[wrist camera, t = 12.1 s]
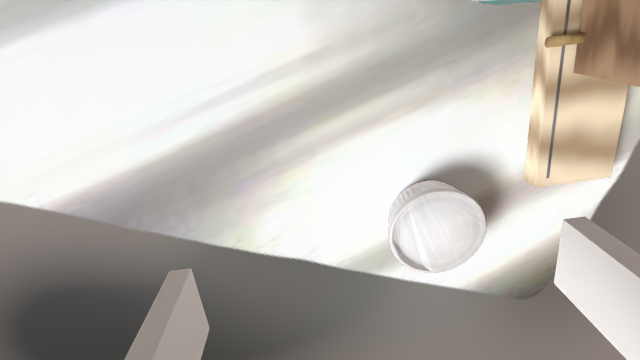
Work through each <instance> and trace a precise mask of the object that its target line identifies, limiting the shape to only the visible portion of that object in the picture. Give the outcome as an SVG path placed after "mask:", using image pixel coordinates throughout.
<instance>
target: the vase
mask: <svg viewBox="0 0 640 360" xmlns="http://www.w3.org/2000/svg"><path fill="white" fill-rule="evenodd" d="M471 1H474V2H478V3H485V4H494V5H508V4H524V3H532V2H538V1H543V0H471Z"/></svg>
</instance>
